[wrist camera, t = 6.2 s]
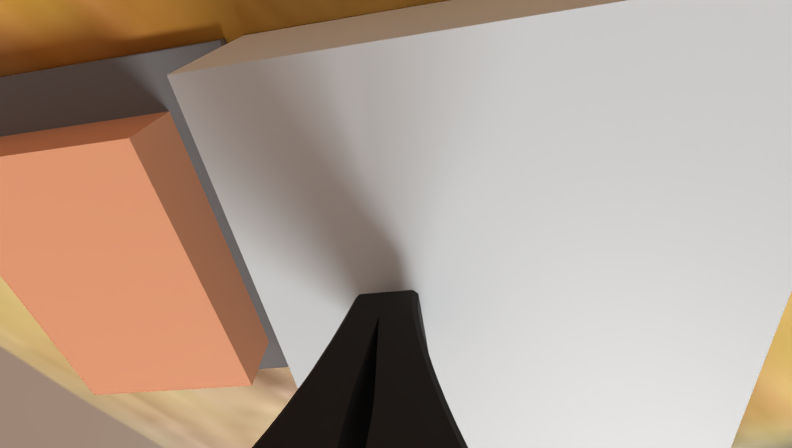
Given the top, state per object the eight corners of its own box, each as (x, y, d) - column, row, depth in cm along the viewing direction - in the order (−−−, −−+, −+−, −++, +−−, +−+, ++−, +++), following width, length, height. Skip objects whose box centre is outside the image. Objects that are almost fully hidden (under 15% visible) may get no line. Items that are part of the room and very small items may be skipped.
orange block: (-84, 168, 12) (-19, 139, 13) (94, 394, 16) (125, 351, 18) (128, 138, 11) (169, 111, 12) (251, 385, 15) (268, 341, 17)
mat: (224, 38, 12) (220, 40, 11) (332, 358, 18) (331, 363, 18) (-42, 84, 13) (-51, 86, 12) (148, 370, 19) (144, 376, 19)
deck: (754, -52, 10) (923, -48, 7) (647, 435, 19) (694, 540, 16) (242, 35, 12) (166, 74, 8) (373, 445, 21) (363, 543, 17)
